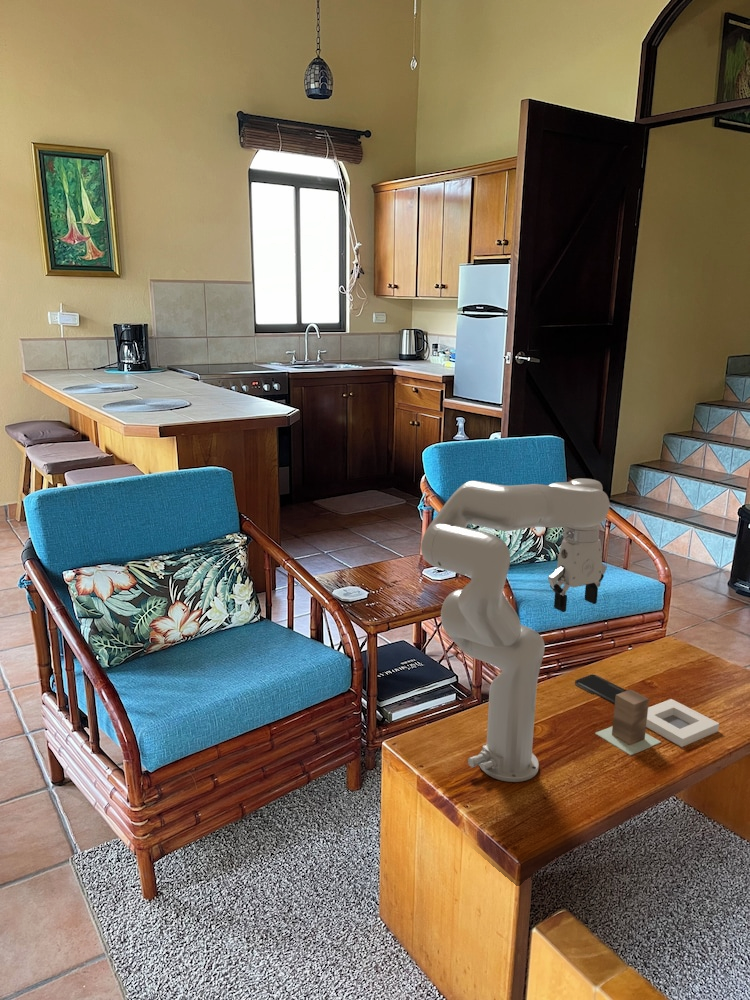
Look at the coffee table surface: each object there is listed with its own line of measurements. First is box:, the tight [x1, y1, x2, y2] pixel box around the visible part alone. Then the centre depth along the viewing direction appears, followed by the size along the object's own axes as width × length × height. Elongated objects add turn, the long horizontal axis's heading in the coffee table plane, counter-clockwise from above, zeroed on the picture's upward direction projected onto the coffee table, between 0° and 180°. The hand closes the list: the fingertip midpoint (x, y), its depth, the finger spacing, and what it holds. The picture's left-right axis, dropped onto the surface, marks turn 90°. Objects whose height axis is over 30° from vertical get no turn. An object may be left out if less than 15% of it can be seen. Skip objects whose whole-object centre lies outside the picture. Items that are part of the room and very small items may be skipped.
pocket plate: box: [646, 698, 720, 748], centre depth 172 cm, size 13×13×2 cm
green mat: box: [594, 725, 662, 756], centre depth 166 cm, size 10×10×1 cm
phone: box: [574, 674, 628, 705], centre depth 188 cm, size 8×1×15 cm
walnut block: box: [611, 689, 650, 746], centre depth 165 cm, size 5×5×10 cm
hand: (575, 605), depth 169 cm, fingers open, 9 cm apart
